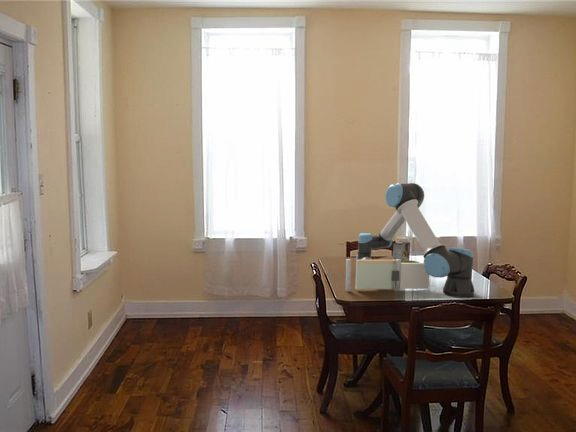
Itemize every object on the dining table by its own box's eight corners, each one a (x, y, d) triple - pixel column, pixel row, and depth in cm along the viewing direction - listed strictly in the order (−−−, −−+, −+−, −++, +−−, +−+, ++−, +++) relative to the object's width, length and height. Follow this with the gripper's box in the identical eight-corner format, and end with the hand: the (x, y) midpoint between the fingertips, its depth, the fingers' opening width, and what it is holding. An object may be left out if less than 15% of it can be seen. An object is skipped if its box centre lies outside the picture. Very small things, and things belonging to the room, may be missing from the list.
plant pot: (418, 280, 314) (419, 264, 313) (401, 278, 316) (402, 263, 315) (418, 276, 323) (419, 261, 322) (401, 275, 325) (402, 259, 324)
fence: (429, 291, 291) (431, 260, 289) (346, 292, 285) (347, 260, 283) (427, 289, 294) (428, 258, 292) (344, 290, 289) (345, 259, 287)
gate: (356, 289, 287) (357, 260, 285) (355, 288, 289) (356, 259, 287) (394, 289, 289) (396, 260, 287) (394, 288, 291) (395, 259, 289)
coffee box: (399, 267, 345) (400, 241, 343) (409, 269, 341) (410, 242, 338) (391, 269, 338) (393, 242, 336) (401, 271, 334) (402, 244, 332)
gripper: (380, 271, 314) (392, 283, 291) (355, 271, 312) (366, 283, 289) (380, 258, 313) (393, 268, 290) (356, 258, 311) (367, 268, 288)
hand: (380, 276), depth 290 cm, fingers closed, pressing on gate
